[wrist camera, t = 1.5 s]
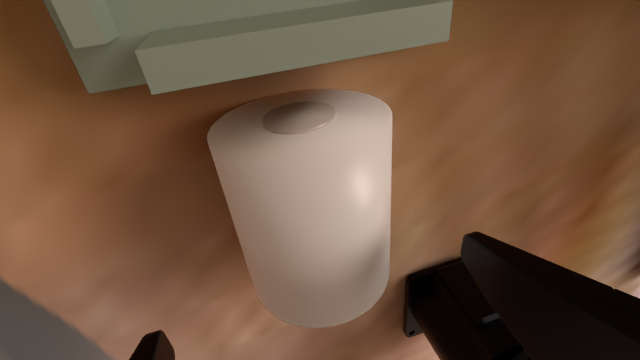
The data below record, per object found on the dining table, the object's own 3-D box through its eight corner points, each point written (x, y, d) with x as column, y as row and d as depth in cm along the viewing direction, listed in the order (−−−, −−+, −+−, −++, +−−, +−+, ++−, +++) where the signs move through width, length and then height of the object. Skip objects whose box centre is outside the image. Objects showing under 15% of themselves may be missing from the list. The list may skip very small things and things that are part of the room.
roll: (339, 209, 18) (420, 280, 14) (235, 258, 16) (292, 362, 11) (327, 76, 14) (435, 114, 10) (186, 114, 12) (243, 188, 7)
